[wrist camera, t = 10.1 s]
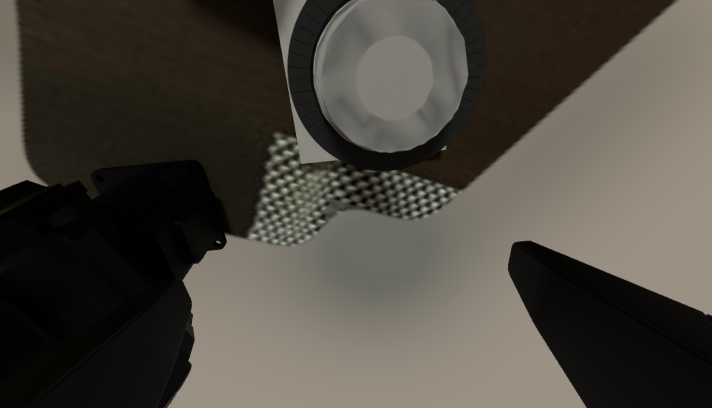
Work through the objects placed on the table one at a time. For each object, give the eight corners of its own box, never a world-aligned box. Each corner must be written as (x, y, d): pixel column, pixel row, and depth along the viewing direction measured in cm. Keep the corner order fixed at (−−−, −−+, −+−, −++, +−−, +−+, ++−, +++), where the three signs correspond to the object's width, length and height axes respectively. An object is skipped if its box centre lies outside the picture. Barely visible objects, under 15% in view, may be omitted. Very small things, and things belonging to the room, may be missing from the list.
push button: (434, 106, 17) (541, 163, 8) (354, 152, 18) (373, 247, 9) (382, -17, 14) (460, -131, 6) (291, 44, 15) (231, 30, 6)
